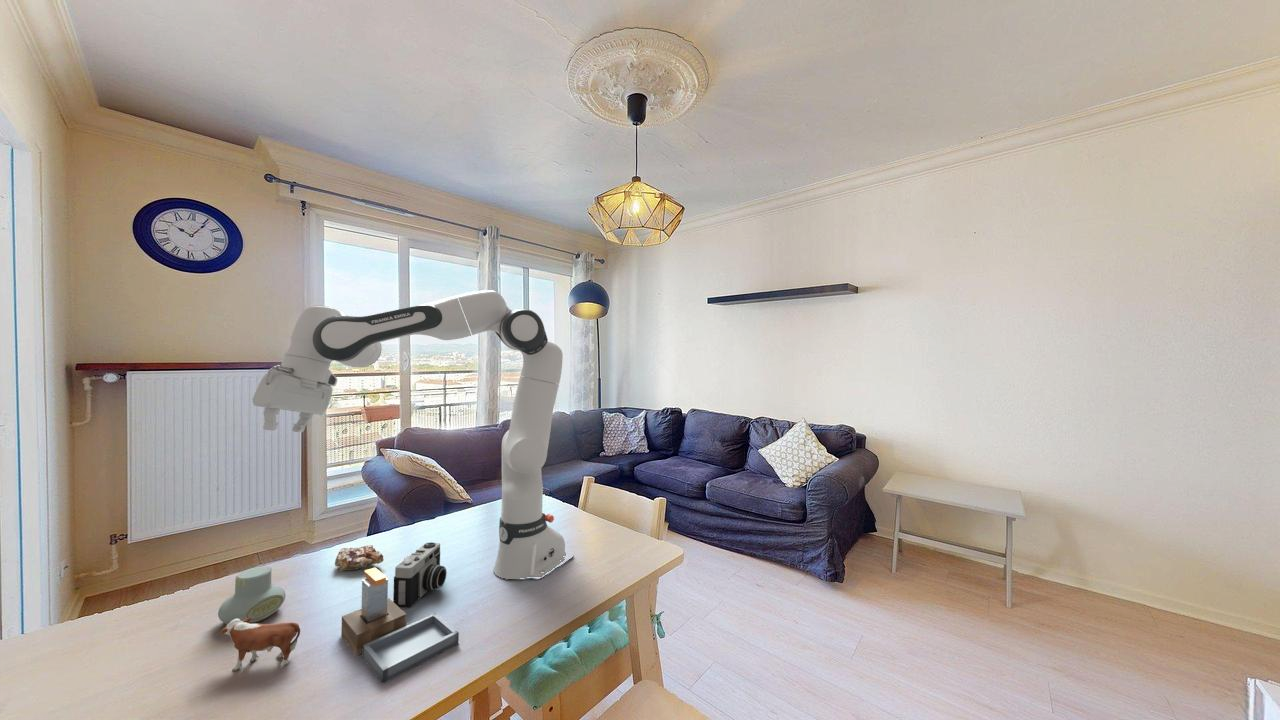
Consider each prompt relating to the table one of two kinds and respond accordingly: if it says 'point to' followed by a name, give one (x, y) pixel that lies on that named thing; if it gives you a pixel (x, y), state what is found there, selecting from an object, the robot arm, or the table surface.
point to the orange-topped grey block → (374, 596)
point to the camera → (418, 575)
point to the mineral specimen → (357, 557)
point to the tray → (409, 646)
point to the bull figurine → (261, 638)
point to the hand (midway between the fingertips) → (284, 430)
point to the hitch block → (371, 627)
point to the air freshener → (252, 597)
